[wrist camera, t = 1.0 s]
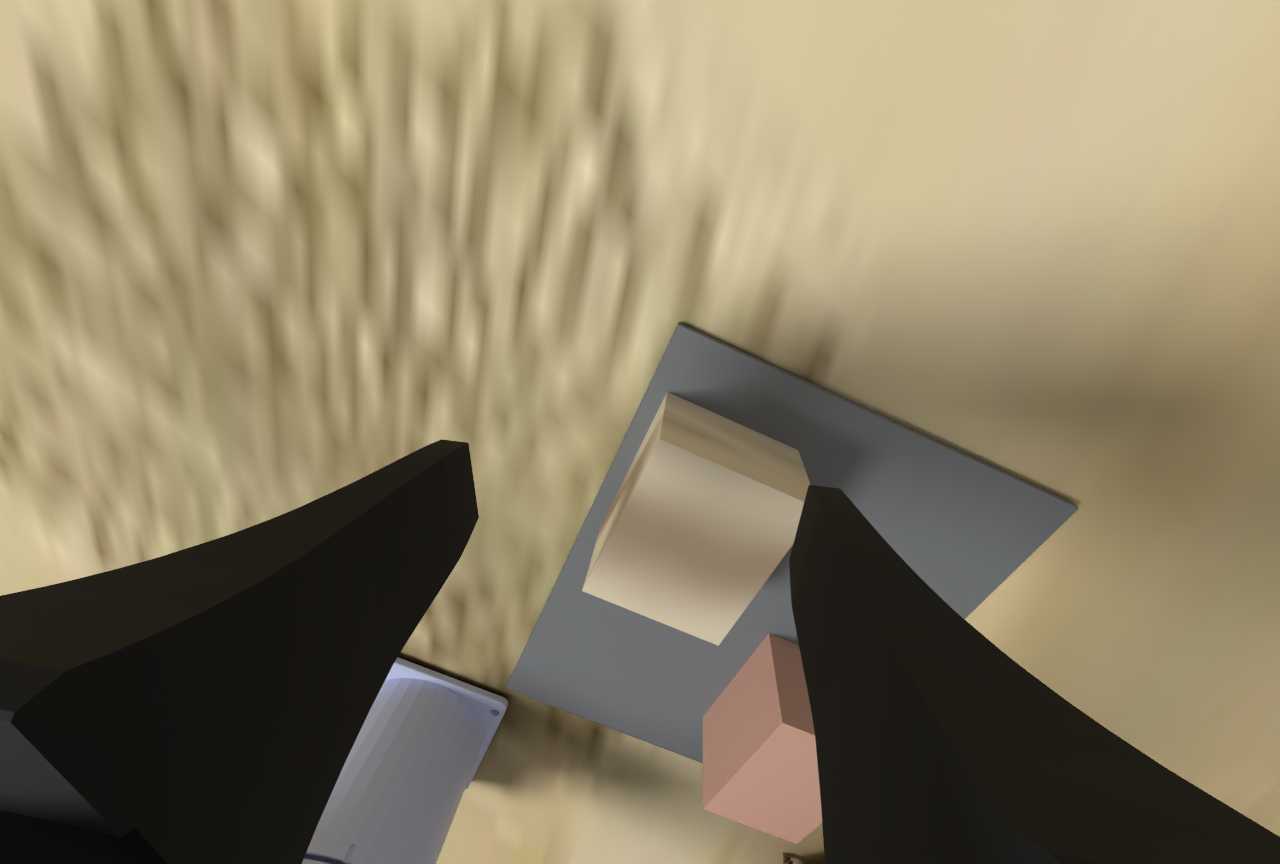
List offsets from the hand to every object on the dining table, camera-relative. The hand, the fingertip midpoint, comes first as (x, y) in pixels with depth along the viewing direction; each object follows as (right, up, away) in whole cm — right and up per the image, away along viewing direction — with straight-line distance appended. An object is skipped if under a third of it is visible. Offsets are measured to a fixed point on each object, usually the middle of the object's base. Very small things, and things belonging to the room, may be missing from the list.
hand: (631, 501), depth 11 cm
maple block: (+2, -1, +10) cm, 11 cm away
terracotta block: (+7, -12, +15) cm, 20 cm away
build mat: (+5, -7, +13) cm, 16 cm away
